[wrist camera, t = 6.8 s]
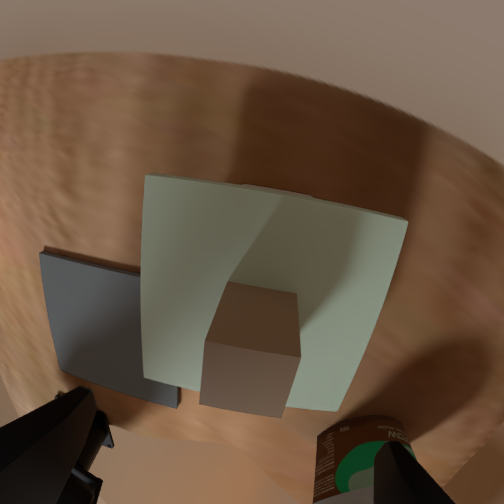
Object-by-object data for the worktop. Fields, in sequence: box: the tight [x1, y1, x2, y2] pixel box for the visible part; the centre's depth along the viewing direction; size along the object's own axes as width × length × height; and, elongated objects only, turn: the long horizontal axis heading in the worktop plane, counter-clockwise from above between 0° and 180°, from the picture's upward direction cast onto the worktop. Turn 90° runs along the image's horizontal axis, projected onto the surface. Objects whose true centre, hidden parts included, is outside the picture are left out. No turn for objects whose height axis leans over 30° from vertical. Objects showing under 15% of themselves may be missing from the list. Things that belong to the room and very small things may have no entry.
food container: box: [313, 415, 417, 504], centre depth 19 cm, size 12×6×10 cm, turn 62°
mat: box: [39, 251, 179, 409], centre depth 22 cm, size 12×12×1 cm
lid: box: [140, 173, 408, 418], centre depth 12 cm, size 11×11×5 cm
